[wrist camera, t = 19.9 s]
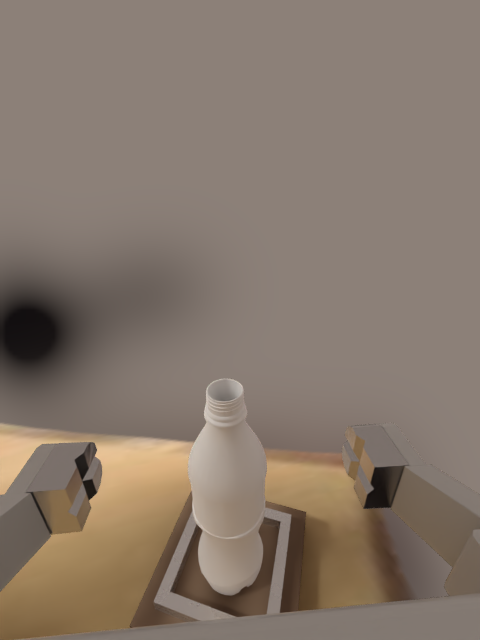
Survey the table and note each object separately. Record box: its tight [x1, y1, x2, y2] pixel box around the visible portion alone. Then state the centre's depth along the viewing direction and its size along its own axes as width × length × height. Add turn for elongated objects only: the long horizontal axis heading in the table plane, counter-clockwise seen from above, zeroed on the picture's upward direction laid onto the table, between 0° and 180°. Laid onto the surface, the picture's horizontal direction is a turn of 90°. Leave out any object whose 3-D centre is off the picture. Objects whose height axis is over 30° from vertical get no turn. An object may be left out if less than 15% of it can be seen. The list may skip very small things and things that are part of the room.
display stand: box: [130, 491, 306, 628], centre depth 34 cm, size 16×16×4 cm
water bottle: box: [188, 379, 267, 596], centre depth 28 cm, size 7×7×25 cm
